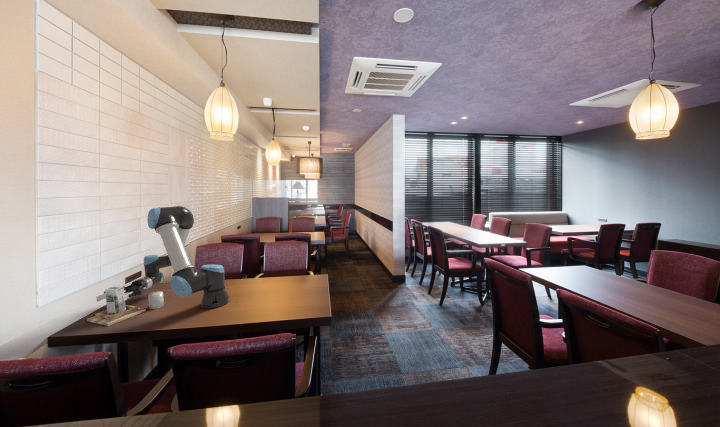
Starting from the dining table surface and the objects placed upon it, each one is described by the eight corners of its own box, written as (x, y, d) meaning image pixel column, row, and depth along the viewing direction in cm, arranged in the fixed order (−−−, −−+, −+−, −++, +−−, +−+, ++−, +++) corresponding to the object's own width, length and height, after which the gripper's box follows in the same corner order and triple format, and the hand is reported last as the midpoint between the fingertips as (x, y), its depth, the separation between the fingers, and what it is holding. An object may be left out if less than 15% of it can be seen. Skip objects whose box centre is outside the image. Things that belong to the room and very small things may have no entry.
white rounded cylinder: (166, 305, 166) (165, 292, 165) (154, 310, 160) (153, 296, 159) (158, 303, 169) (157, 290, 168) (146, 308, 162) (145, 295, 161)
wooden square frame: (146, 311, 159) (145, 305, 158) (108, 326, 142) (107, 320, 141) (125, 307, 165) (124, 301, 164) (87, 321, 148) (86, 315, 148)
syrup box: (107, 316, 150) (104, 289, 149) (116, 311, 156) (113, 285, 155) (117, 315, 150) (114, 289, 149) (126, 310, 156) (124, 285, 155)
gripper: (162, 290, 170) (134, 305, 149) (121, 291, 171) (87, 306, 149) (161, 278, 170) (132, 291, 149) (120, 279, 170) (85, 292, 149)
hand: (109, 298), depth 149 cm, fingers open, 13 cm apart
